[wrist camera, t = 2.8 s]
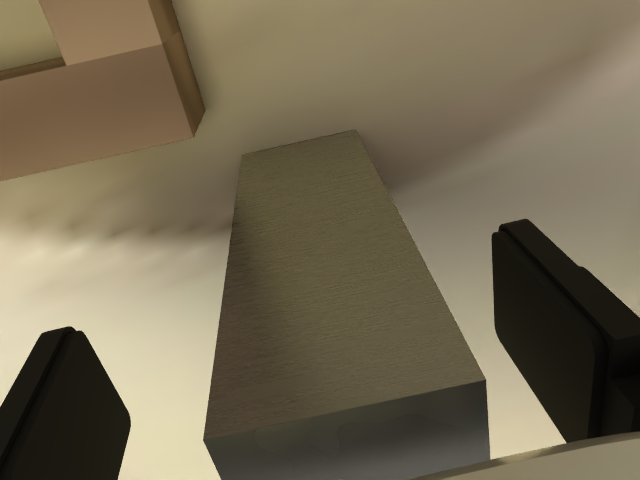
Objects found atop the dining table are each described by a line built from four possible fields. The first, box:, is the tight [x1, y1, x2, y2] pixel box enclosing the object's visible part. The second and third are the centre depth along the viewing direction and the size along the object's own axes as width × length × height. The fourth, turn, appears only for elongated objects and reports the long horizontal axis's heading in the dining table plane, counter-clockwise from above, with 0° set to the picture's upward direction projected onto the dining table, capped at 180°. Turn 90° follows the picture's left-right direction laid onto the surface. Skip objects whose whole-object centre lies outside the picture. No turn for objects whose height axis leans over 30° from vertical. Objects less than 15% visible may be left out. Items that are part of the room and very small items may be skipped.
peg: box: [203, 130, 490, 480], centre depth 13 cm, size 4×4×12 cm
